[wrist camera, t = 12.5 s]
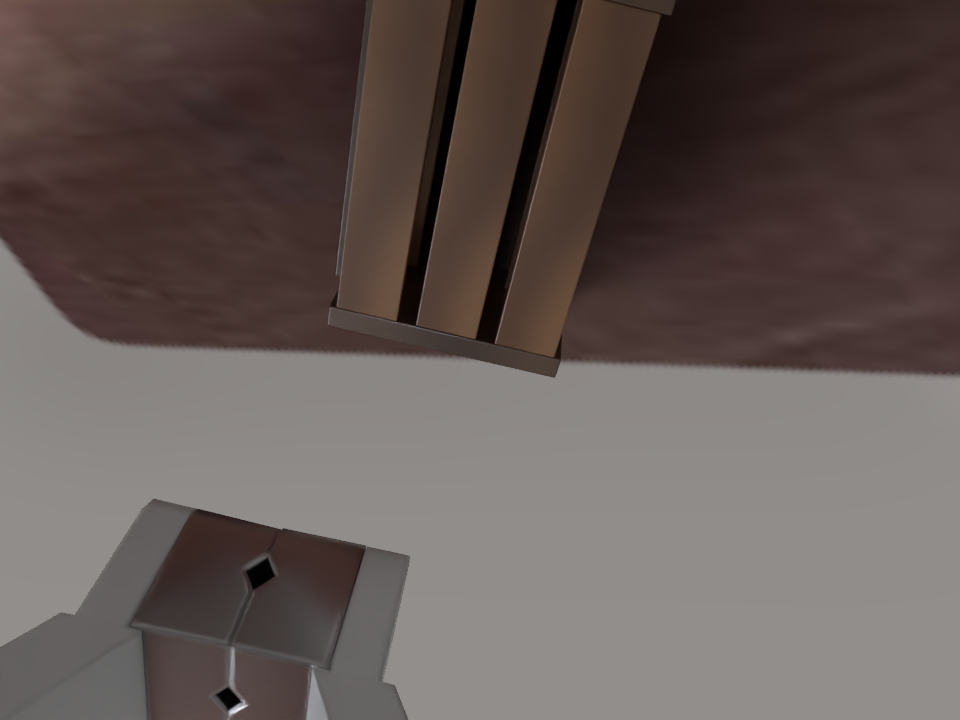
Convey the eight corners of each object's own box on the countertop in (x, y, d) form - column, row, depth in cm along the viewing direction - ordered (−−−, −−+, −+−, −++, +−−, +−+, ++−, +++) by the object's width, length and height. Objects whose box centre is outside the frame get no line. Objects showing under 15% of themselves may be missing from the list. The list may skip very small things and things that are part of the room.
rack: (354, 253, 40) (317, 323, 35) (400, -114, 31) (361, -96, 26) (559, 301, 41) (555, 378, 35) (665, -49, 31) (681, -17, 26)
